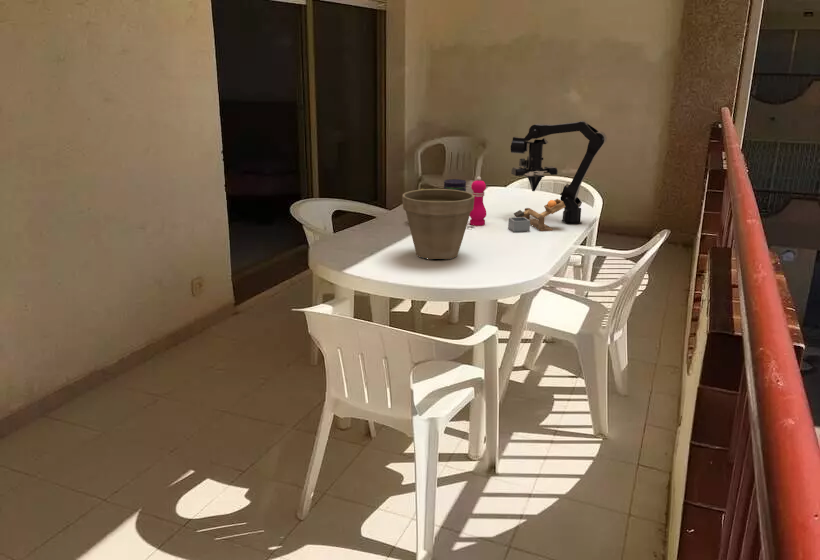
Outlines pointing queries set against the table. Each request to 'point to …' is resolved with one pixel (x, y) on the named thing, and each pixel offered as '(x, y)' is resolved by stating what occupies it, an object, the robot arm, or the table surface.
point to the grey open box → (519, 224)
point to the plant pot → (437, 220)
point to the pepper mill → (478, 203)
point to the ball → (551, 203)
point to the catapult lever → (548, 211)
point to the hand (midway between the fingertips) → (533, 191)
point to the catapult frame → (538, 223)
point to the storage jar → (455, 184)
